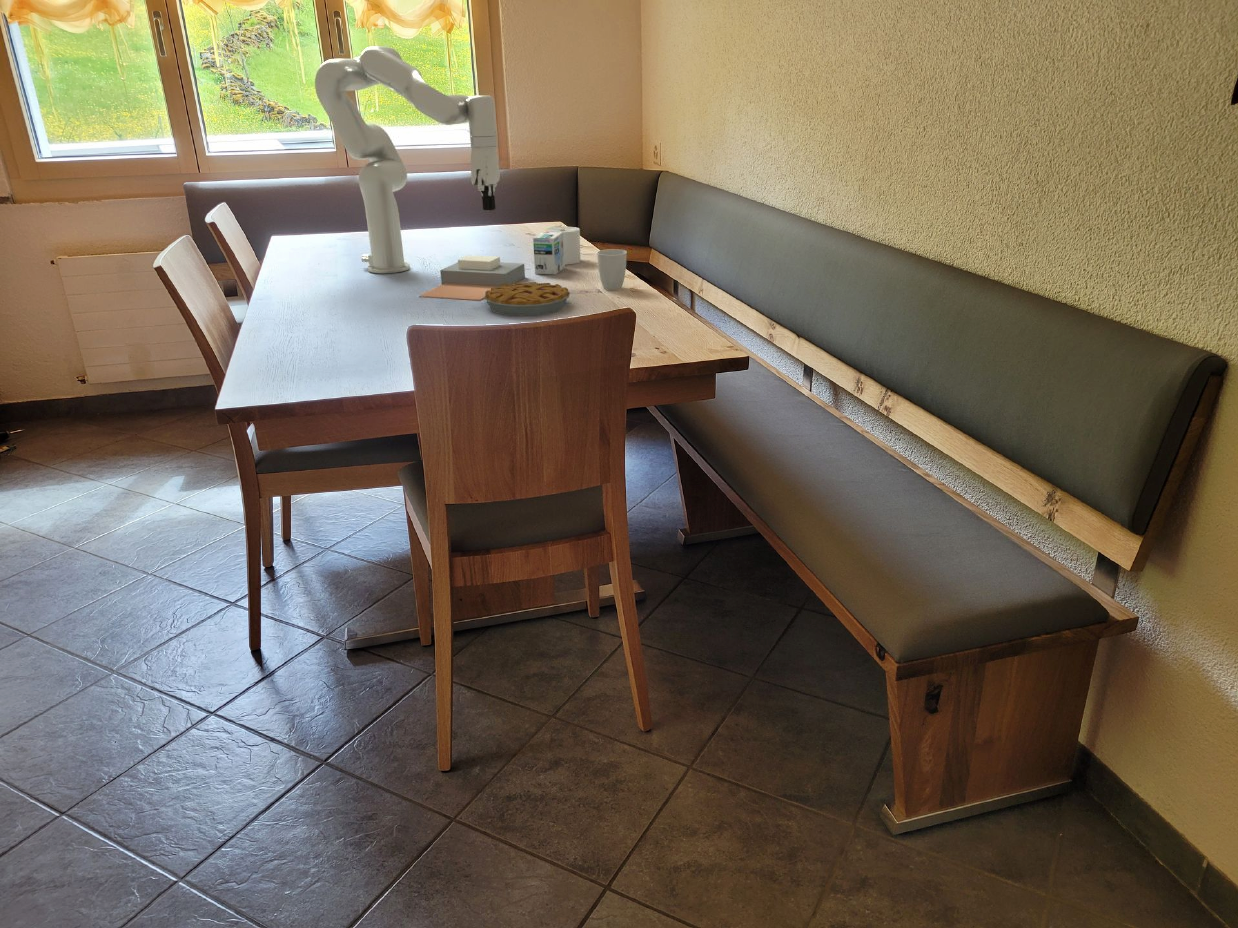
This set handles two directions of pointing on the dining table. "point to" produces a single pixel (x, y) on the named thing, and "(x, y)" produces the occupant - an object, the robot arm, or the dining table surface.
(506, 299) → the pie
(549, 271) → the light bulb box
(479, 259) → the cream rectangular block
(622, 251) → the cup
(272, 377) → the dining table surface
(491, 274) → the grey flat slab
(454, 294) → the mat
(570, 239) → the toilet tissue
